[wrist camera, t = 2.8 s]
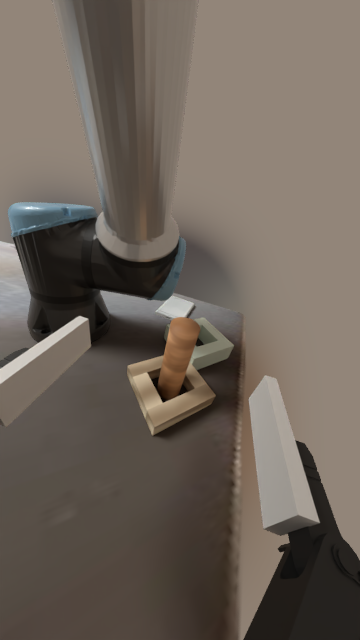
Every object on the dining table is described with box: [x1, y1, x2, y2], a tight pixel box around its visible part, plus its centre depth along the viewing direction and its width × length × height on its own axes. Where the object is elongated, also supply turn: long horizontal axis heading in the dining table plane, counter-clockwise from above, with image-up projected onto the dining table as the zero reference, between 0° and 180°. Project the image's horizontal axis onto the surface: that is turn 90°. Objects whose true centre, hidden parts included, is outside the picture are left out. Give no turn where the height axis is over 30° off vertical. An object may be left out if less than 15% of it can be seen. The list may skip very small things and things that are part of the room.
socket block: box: [164, 318, 234, 370], centre depth 40 cm, size 11×11×4 cm
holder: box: [127, 355, 216, 436], centre depth 30 cm, size 11×11×2 cm
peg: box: [157, 317, 200, 400], centre depth 27 cm, size 4×4×14 cm
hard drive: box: [155, 296, 194, 321], centre depth 54 cm, size 2×8×12 cm
